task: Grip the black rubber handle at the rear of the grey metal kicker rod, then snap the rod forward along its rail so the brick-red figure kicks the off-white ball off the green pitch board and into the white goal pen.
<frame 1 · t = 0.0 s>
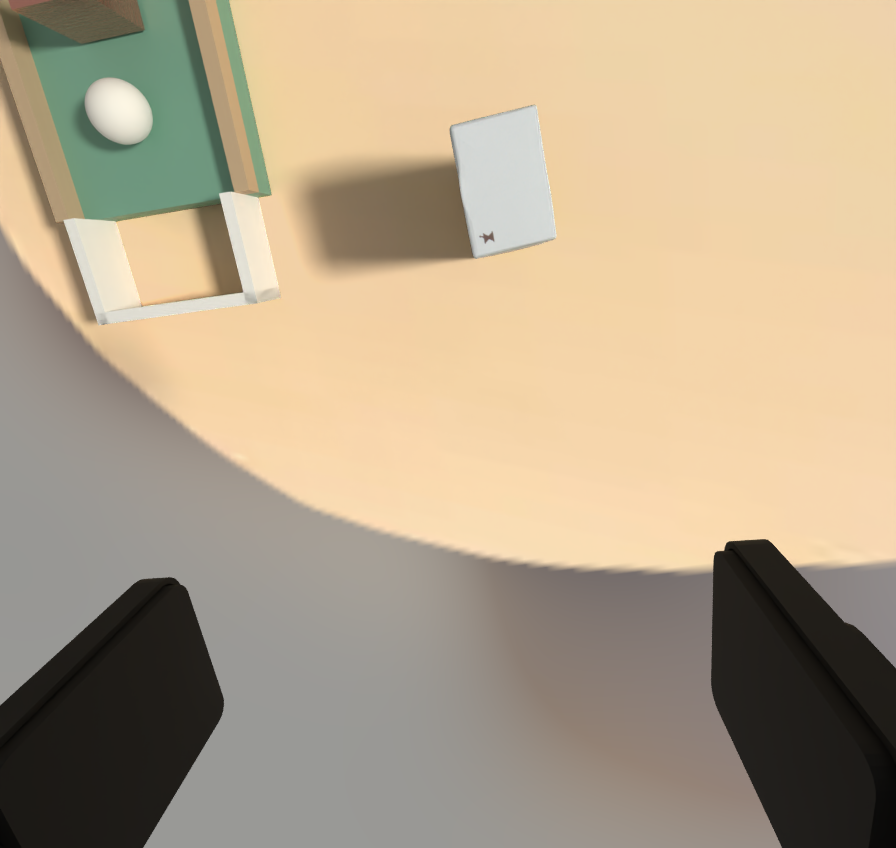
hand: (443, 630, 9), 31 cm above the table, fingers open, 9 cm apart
ball: (119, 112, 33), point 4 cm above the table, touching pitch board
pitch board: (125, 5, 34), on the table
skincare box: (502, 205, 36), on the table
goal: (194, 260, 39), on the table
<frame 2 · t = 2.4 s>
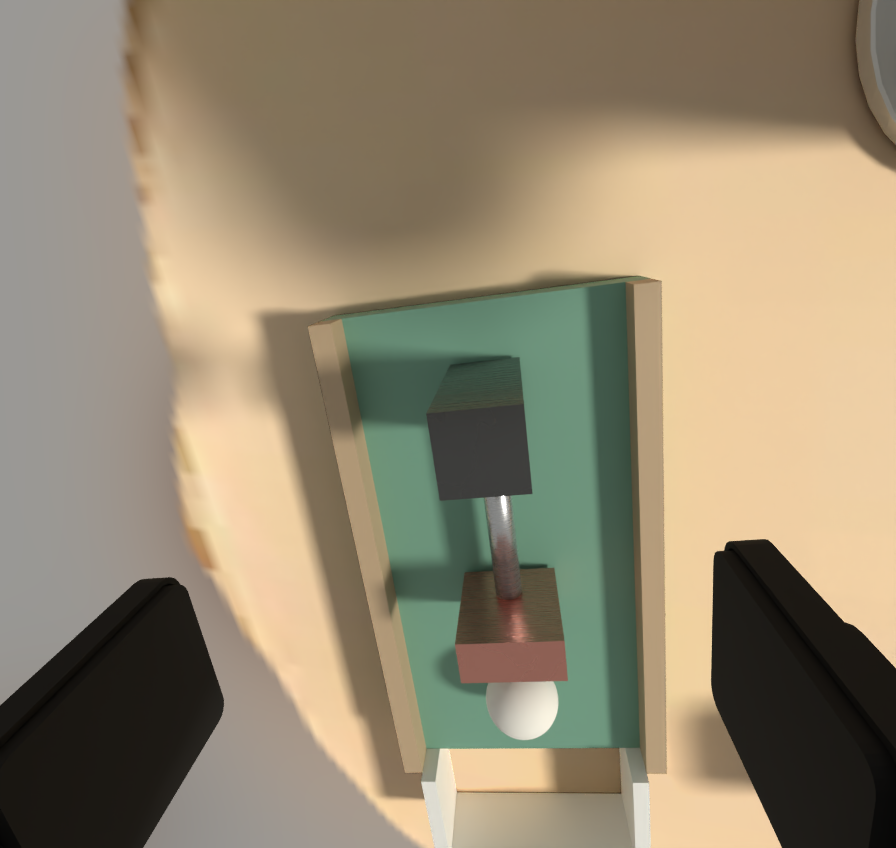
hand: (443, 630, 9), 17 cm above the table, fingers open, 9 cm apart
ball: (521, 698, 26), point 4 cm above the table, touching pitch board
pitch board: (507, 536, 28), on the table
goal: (533, 761, 33), on the table
kicker rod: (498, 530, 21), point 6 cm above the table, slide at 0.0 cm
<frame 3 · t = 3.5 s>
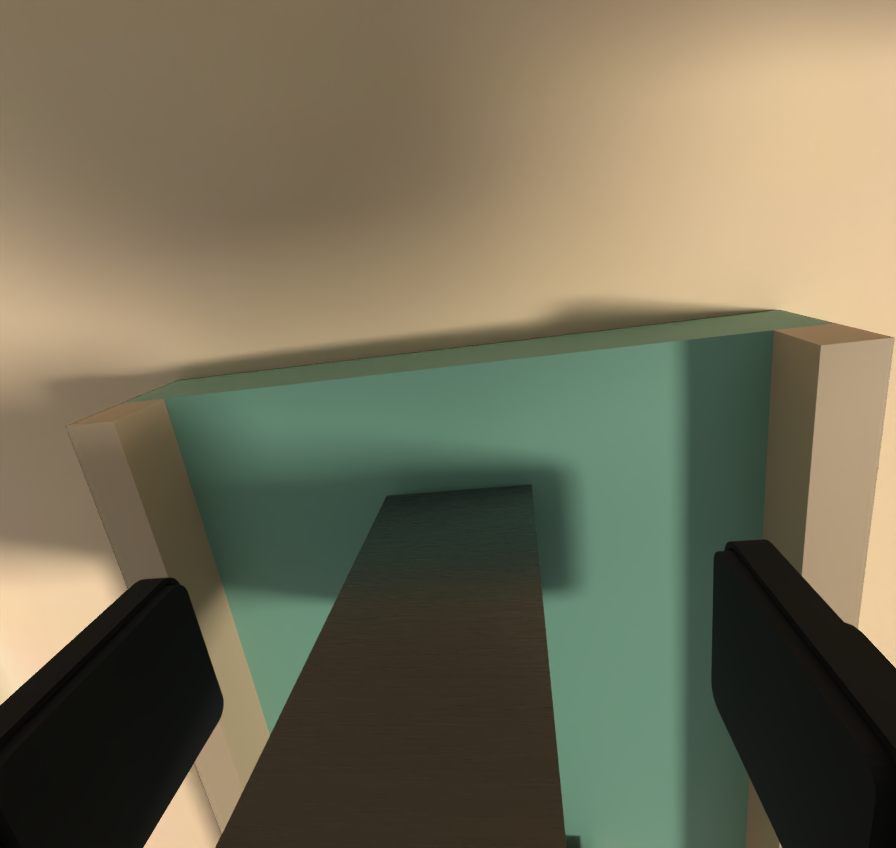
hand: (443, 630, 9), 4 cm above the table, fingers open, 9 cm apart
pitch board: (507, 753, 16), on the table
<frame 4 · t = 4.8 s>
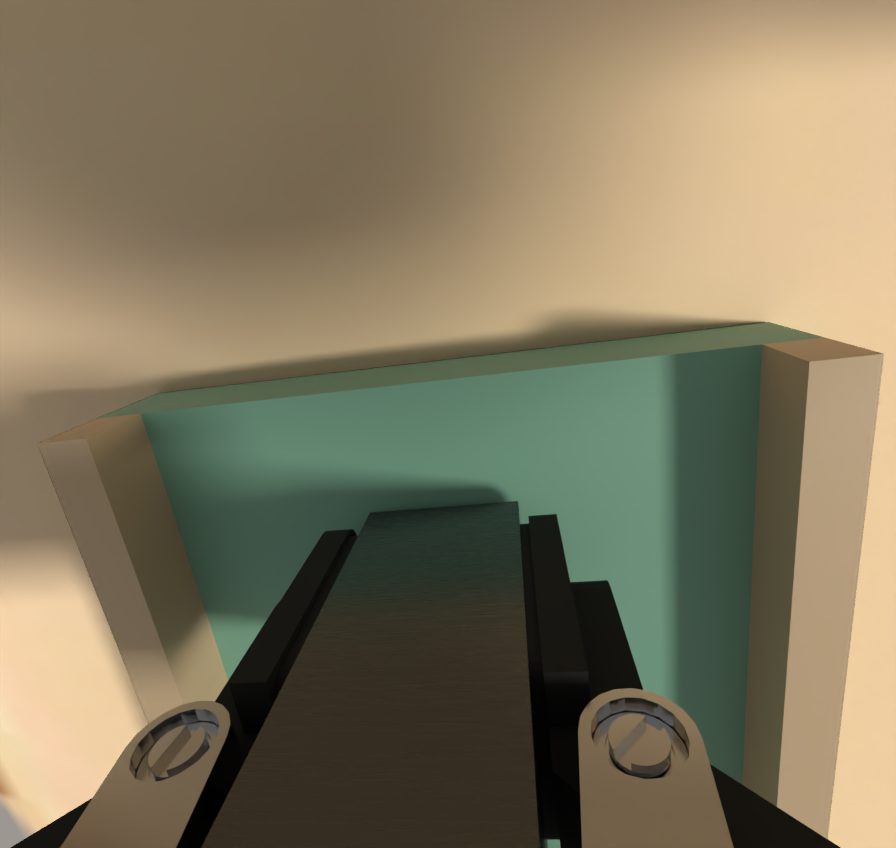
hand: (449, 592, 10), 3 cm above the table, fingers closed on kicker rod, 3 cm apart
pitch board: (497, 771, 16), on the table
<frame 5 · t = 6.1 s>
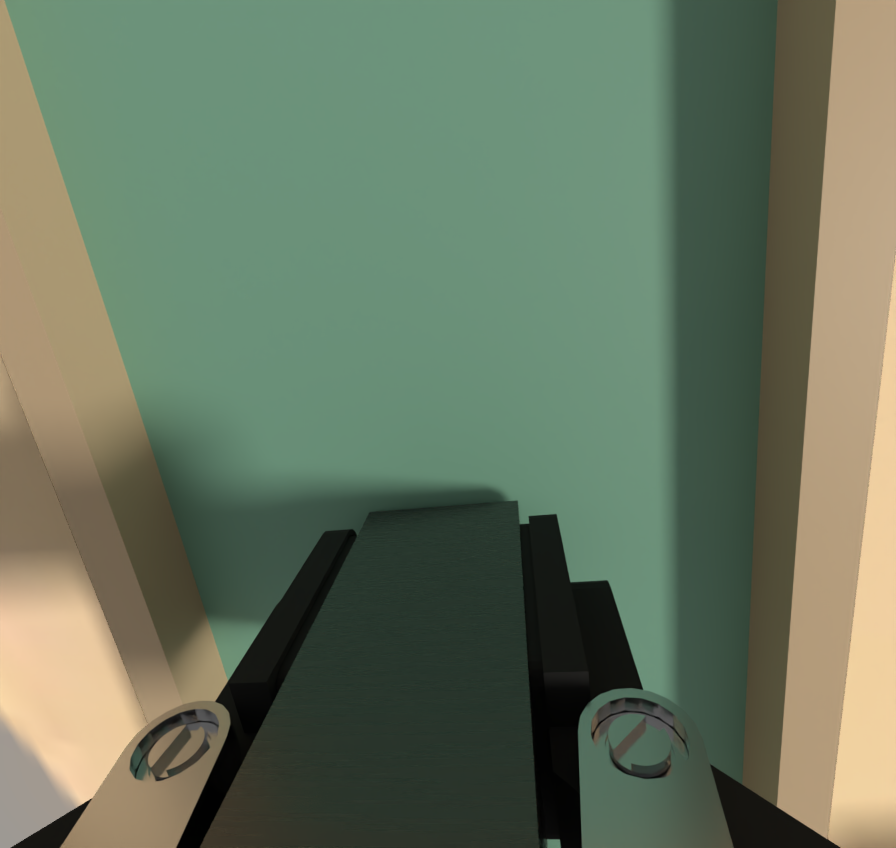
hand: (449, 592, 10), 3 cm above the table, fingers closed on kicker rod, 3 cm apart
pitch board: (455, 482, 13), on the table
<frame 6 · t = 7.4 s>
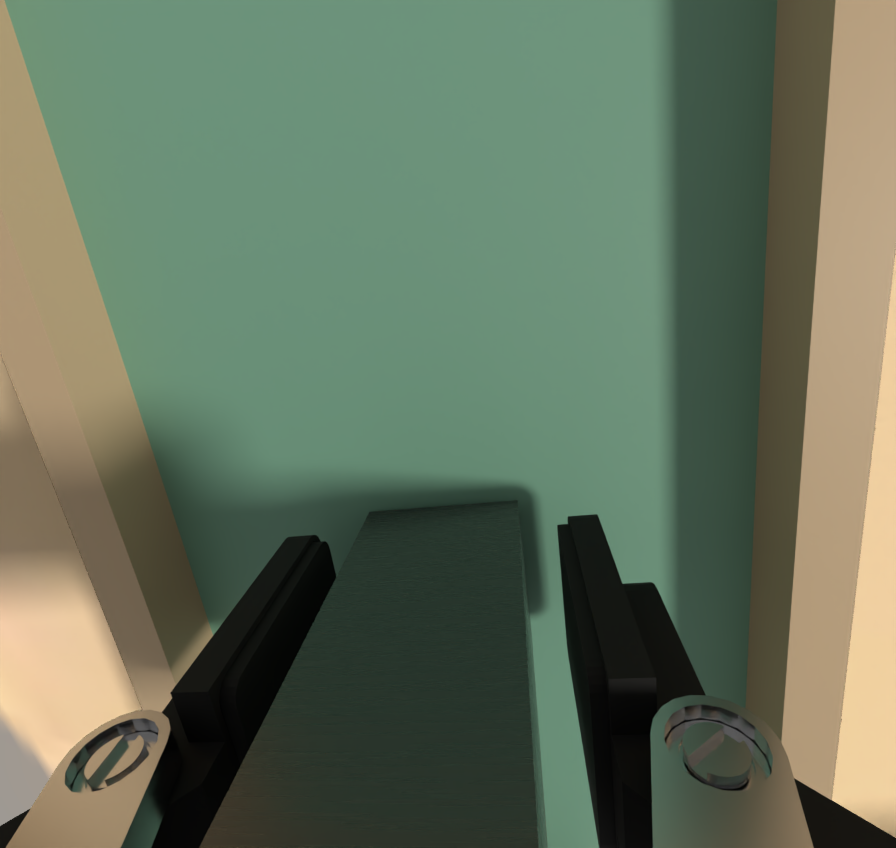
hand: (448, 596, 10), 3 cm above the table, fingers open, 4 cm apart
pitch board: (455, 481, 13), on the table
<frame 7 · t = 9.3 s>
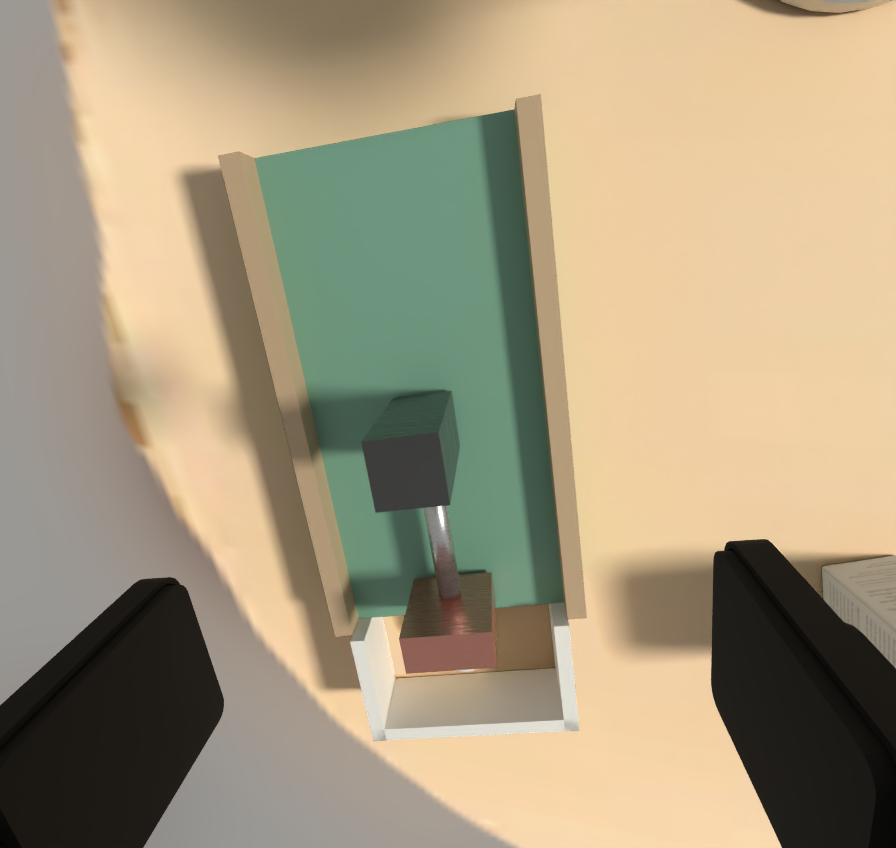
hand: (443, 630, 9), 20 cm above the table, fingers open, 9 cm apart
pitch board: (429, 393, 29), on the table
skincare box: (857, 600, 31), on the table
goal: (468, 638, 33), on the table
kicker rod: (434, 538, 25), point 6 cm above the table, slide at 9.5 cm
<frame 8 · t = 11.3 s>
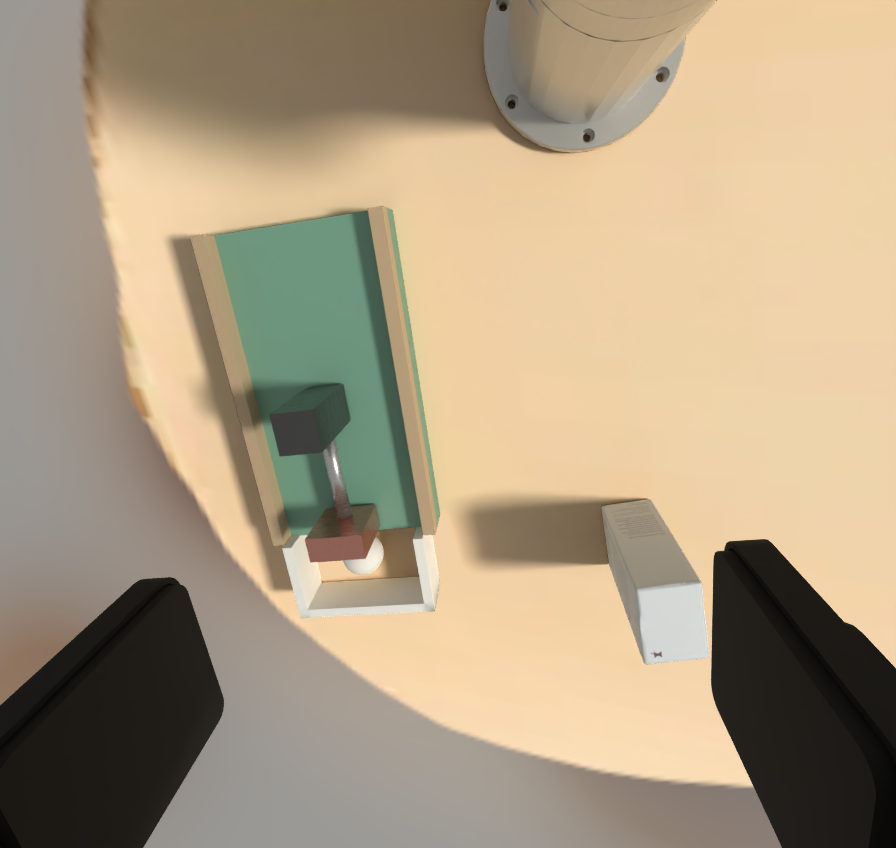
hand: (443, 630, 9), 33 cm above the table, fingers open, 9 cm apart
ball: (362, 553, 46), point 2 cm above the table, tilted 99°
pitch board: (335, 384, 43), on the table
skincare box: (629, 530, 45), on the table
goal: (370, 553, 48), on the table
kicker rod: (327, 477, 39), point 6 cm above the table, slide at 9.5 cm
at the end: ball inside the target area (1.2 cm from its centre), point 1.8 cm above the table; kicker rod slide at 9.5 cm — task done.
